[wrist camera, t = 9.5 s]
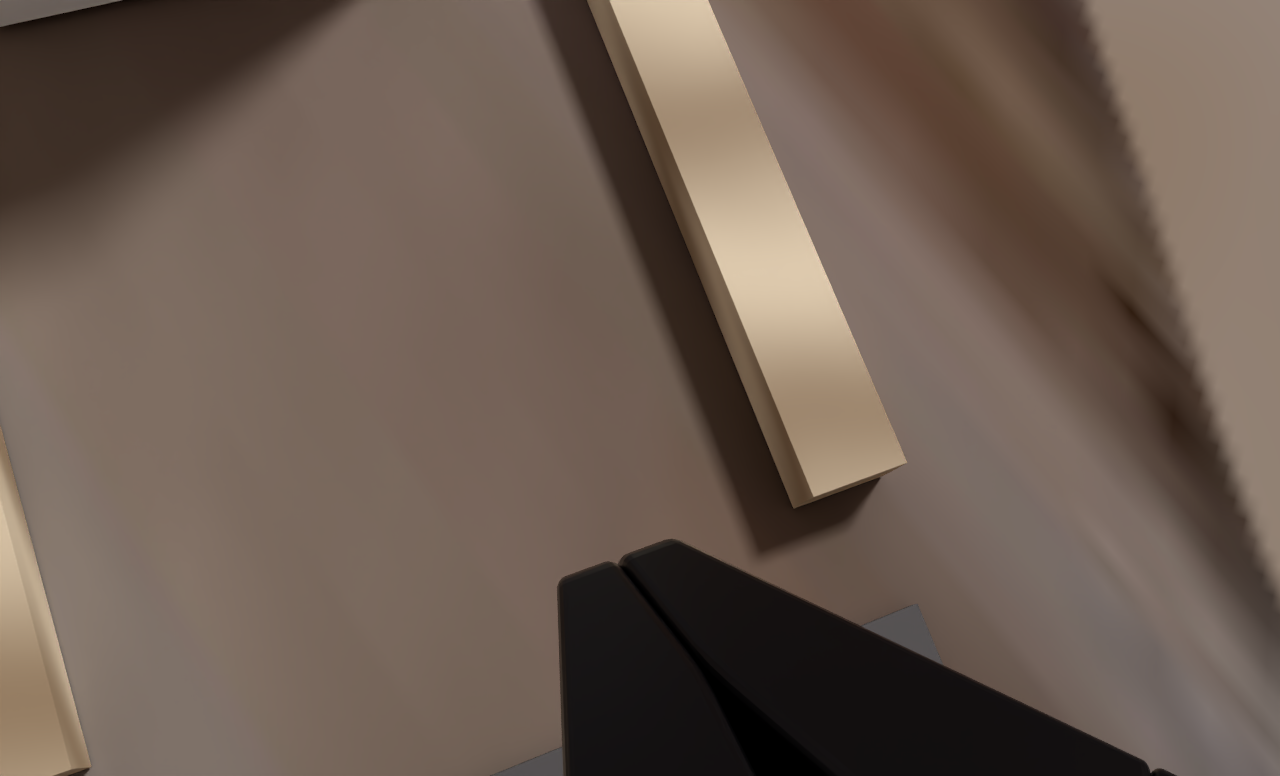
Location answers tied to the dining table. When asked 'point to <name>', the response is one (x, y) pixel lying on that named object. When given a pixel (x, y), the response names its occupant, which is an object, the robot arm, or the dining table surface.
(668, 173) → the channel
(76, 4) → the white l-shaped bracket
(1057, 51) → the dining table surface
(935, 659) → the mat
